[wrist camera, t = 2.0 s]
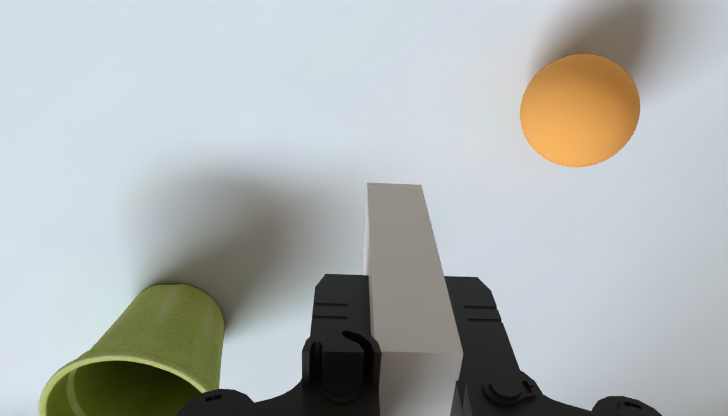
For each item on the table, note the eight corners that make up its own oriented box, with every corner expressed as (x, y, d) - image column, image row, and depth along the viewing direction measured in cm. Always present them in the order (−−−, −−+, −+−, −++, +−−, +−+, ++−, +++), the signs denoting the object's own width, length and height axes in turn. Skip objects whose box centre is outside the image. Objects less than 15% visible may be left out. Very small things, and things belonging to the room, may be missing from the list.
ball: (596, 145, 31) (642, 187, 26) (500, 141, 31) (528, 183, 26) (623, 45, 28) (678, 71, 23) (518, 41, 28) (552, 66, 23)
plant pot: (156, 231, 33) (96, 325, 25) (279, 313, 36) (259, 419, 28) (79, 322, 36) (5, 430, 29) (199, 390, 39) (161, 505, 32)
